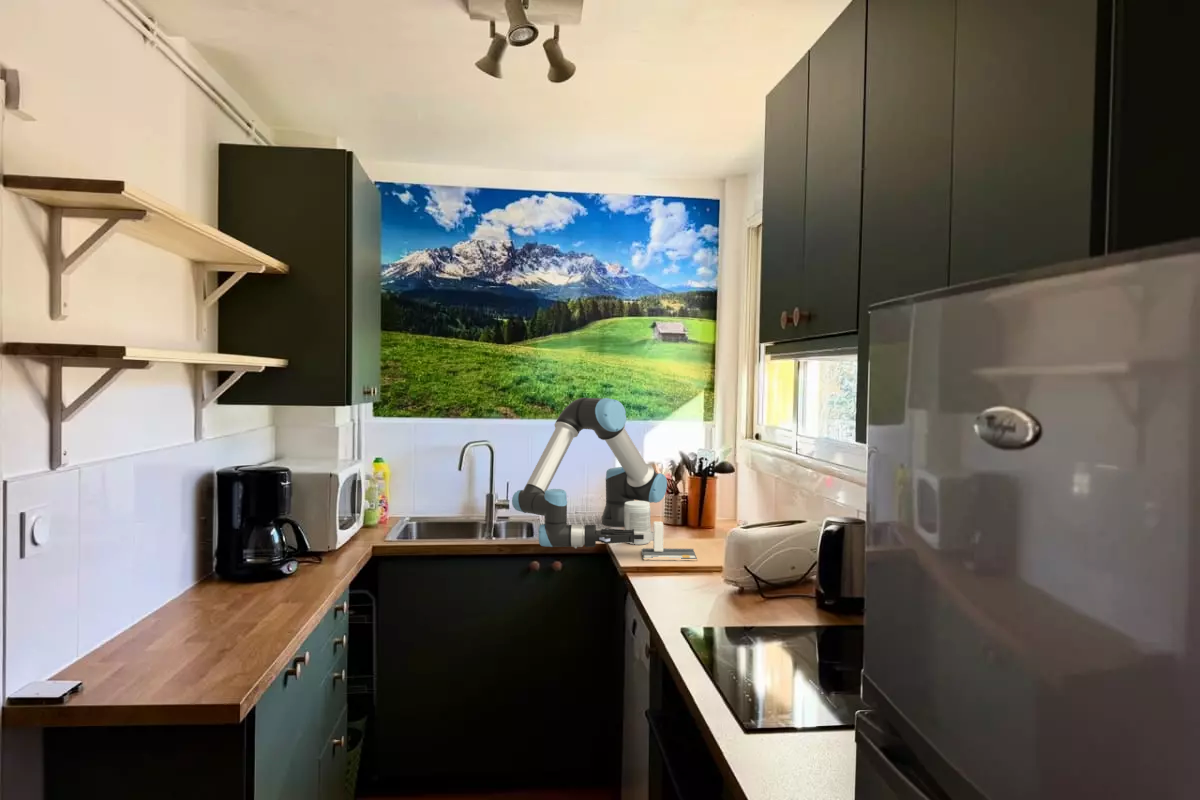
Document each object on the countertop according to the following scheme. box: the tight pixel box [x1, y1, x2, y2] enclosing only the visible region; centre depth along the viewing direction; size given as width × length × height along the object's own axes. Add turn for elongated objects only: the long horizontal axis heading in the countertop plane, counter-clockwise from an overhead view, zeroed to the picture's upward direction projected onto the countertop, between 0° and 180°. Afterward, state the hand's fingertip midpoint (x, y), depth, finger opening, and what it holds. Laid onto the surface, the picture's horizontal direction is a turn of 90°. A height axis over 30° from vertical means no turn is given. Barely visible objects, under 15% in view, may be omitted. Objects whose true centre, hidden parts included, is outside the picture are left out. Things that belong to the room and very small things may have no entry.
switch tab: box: [653, 521, 664, 552], centre depth 249 cm, size 5×3×10 cm, turn 179°
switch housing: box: [641, 547, 698, 560], centre depth 249 cm, size 12×18×2 cm, turn 89°
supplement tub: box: [624, 500, 651, 546], centre depth 268 cm, size 10×10×15 cm
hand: (653, 536), depth 249 cm, fingers closed
